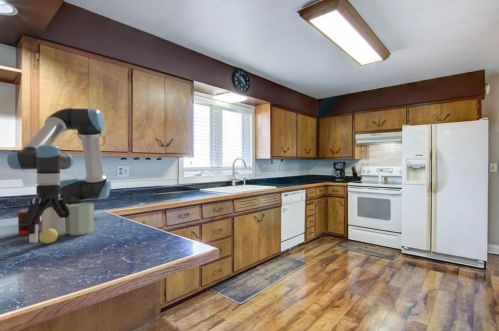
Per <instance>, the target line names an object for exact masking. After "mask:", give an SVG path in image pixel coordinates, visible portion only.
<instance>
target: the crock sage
mask: <svg viewBox="0 0 499 331" xmlns="http://www.w3.org/2000/svg"><path fill="white" fill-rule="evenodd" d="M68 210H69V212H70V214H69V215H68V233H67V234H68V235H69V236H82V235H83V236H84V235H88V234H93V233H94V231H95V204H94V203H92V202H83V203H79V204H72V205H68Z"/></svg>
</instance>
